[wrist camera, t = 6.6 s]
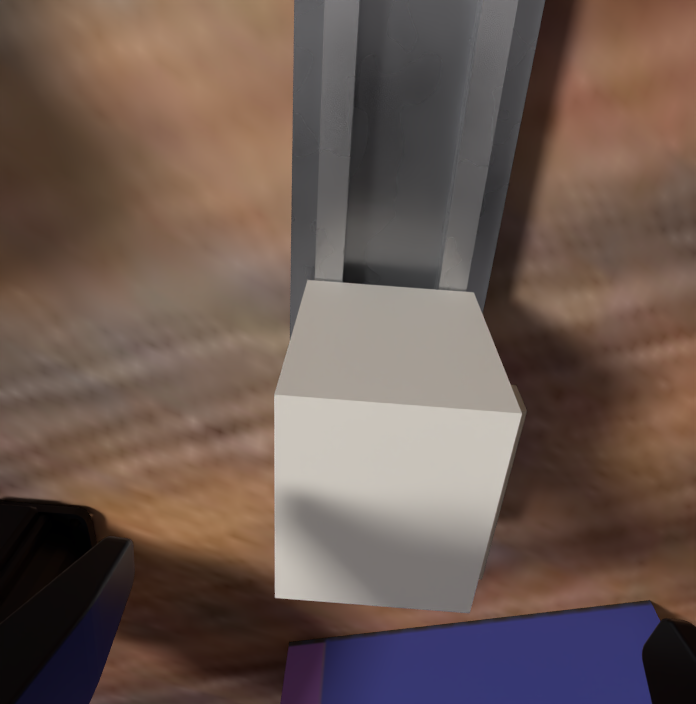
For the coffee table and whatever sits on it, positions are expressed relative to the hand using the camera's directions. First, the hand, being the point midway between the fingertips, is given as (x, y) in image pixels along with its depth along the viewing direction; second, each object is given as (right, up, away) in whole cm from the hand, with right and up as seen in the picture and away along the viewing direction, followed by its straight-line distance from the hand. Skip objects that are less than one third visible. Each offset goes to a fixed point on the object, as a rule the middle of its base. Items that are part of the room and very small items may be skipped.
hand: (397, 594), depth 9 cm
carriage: (0, +3, +8) cm, 9 cm away
